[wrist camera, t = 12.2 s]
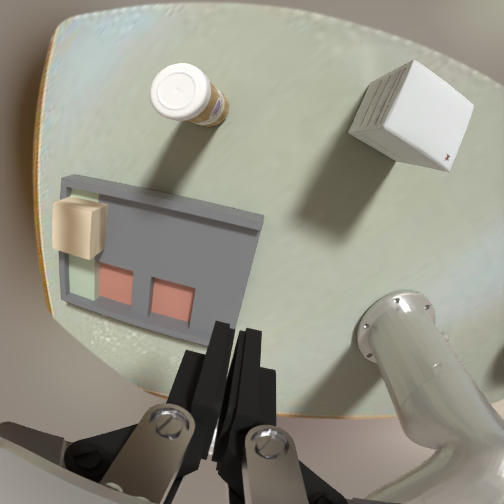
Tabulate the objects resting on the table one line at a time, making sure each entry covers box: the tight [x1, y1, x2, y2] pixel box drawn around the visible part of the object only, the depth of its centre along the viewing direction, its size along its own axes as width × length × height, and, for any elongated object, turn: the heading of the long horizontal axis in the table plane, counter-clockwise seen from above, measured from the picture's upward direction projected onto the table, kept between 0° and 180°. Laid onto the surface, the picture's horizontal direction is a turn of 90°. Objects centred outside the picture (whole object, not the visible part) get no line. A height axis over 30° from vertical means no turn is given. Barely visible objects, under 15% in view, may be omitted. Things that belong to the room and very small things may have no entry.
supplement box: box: [348, 60, 474, 172], centre depth 26 cm, size 7×7×13 cm
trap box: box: [59, 175, 264, 346], centre depth 38 cm, size 26×18×3 cm
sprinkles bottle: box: [150, 63, 229, 127], centre depth 26 cm, size 5×5×14 cm
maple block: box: [52, 196, 108, 260], centre depth 34 cm, size 6×6×4 cm
